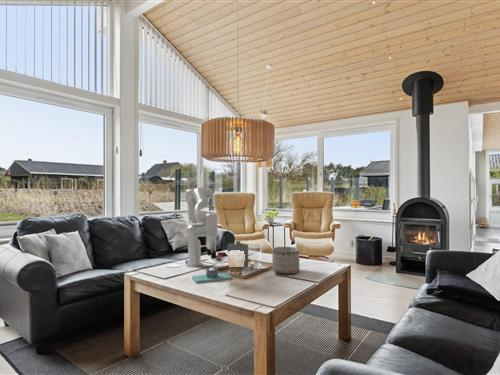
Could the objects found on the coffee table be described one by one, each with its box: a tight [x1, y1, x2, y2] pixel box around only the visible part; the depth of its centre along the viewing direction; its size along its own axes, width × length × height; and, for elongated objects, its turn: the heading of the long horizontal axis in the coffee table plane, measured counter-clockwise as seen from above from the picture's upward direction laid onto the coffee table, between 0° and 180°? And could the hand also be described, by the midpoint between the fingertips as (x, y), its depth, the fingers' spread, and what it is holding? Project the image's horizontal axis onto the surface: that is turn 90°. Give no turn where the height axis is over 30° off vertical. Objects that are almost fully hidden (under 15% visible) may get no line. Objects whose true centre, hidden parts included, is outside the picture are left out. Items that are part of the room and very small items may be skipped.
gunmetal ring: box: [205, 267, 219, 278], centre depth 217 cm, size 7×7×5 cm
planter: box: [271, 246, 300, 275], centre depth 233 cm, size 19×19×16 cm
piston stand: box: [192, 267, 233, 284], centre depth 217 cm, size 12×24×6 cm, turn 112°
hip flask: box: [227, 240, 249, 268], centre depth 248 cm, size 16×4×20 cm, turn 83°
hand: (211, 256), depth 217 cm, fingers open, 9 cm apart
